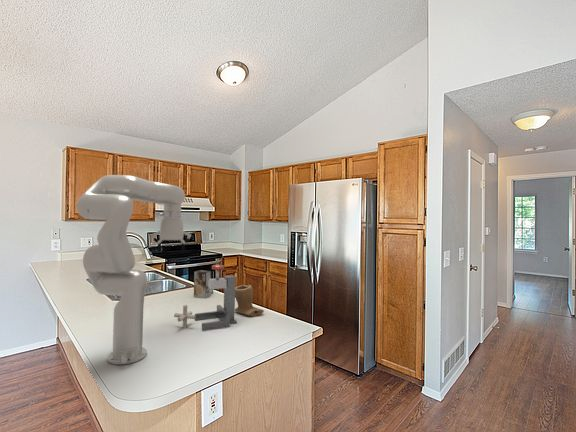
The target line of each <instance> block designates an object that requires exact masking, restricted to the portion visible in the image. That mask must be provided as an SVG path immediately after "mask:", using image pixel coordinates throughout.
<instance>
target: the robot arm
mask: <svg viewBox="0 0 576 432" xmlns="http://www.w3.org/2000/svg"><path fill="white" fill-rule="evenodd" d="M185 198H186V193H185V191H184V189H183V188H182V187H179V186H178V185H174V184H170V183H169V184H168V183H164V182H163V183H162V182H158V181H153V180H147V179H144V178H141V177H138V176H135V175H131V174H129V175H127V174H107V175H103V176H102V177H100V178H98V180H96V181H95V182H94V183H93V184H92V185H91V186H90V187H89V188H88V189H86V191H84V193H82V195H81V196H80V197H79V198H78V200H77V203H76V210H77V214H79V216H80V217H82V218H83V219H86V220H87V219H88V220H94V221H95V220H99V221H101V220H103V221H104V223H103V225H102V227H101V228H100V230H99V231H98V233H97V236H96V237H97V239H96V240H97V244H94V245H91V246H89V247H88V248H87V249H86V250H85V252H84V253H83V257H82V264H83V269H84V271H85V272H86V275H87V277H88V279H89V281H90V283H91V285H92V287H93V289H94V290H95V291H96V292H97V293H98V294H100V295H105V296H118V297H120V298H119V300H118V302H117V303H116V304H115V305H114V309H113V326H112V327H113V329H112V333H113V334H112V351H111V352H110V353H109V354H108V355H107V362H108V363H110V364H111V365H116V366H117V365H120V366H121V365H122V366H123V365H129V364H134V363H136V362H139V361H140V360H142V359H144V358H145V357H146V356H147V355H148V352H147V349H146V347H143V337H144V335H143V334H144V333H143V331H144V306H145V305H144V303H145V295H146V291H147V287H148V276H147V274H146V273H145V272H144V271H143V270H139V269H134V267H135V265H136V260H135V254H134V252H133V249H132V247H131V244H130V241H129V239H128V235H127V229H128V226H129V222H130V221H131V218H132V215H133V213H134V201H138V202H144V203H154V204H158V205H163V212H160V214H159V215H160V216H161V217H162V218H161V220H160V227H159V230H158V231H156V232H153V233H152V234H151V235H150V236H151V237H152V239H153V241H154V242H155V243H156V244H157V252H158V254H160V253H162V242H163V241H180V242H181V249H180V250H181V253H184V251H185V250H186V249H185V248H186V244H187V242H189V240H190V239H191V237H192V234H191V233H189V232H187V231H186V230H184V222H183V218H181V217H182V204H183V203H184V201H185ZM157 235H159V239H158V238H157ZM184 235H185V236H187V237H186V238H185V239H184Z"/></svg>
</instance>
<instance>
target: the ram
mask: <svg viewBox="0 0 576 432" xmlns="http://www.w3.org/2000/svg"><path fill="white" fill-rule="evenodd" d="M224 267H225V266H224V264H213V265H211V270H212V271H213V270H214V271H215V272H216V273H215V278H211V279H209V280H208V287H209V288H210V294H211V295H212V294H214V290H216V289H217V290H219V289H224V288H226V279H225V277H220V271H222V270H224V269H225V268H224Z"/></svg>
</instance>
